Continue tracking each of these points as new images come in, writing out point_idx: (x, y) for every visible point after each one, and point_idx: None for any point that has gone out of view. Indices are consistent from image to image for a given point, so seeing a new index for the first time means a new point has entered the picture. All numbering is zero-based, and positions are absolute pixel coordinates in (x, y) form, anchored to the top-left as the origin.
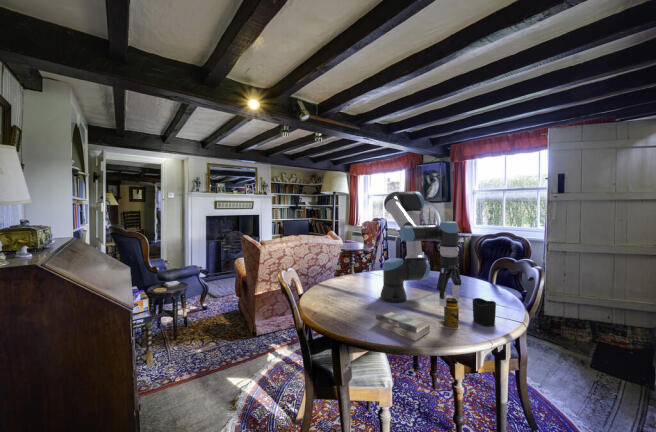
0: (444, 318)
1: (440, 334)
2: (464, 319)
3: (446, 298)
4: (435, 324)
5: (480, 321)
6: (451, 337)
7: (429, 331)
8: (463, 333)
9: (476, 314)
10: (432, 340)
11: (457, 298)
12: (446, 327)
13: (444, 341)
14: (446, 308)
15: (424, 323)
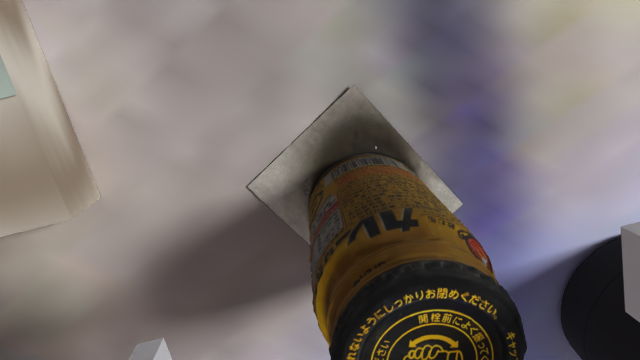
0: (322, 195)
1: (146, 271)
2: (574, 186)
3: (418, 291)
4: (259, 126)
5: (574, 335)
6: (184, 336)
7: (97, 199)
8: (318, 336)
9: (612, 337)
10: (13, 304)
11: (634, 306)
12: (290, 217)
13: (88, 350)
14: (313, 286)
15: (40, 176)
